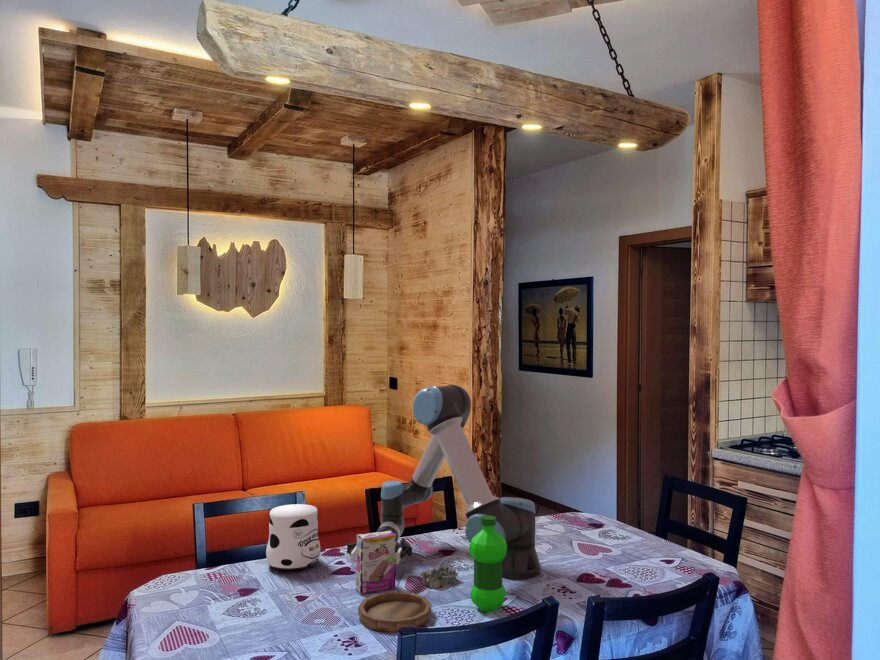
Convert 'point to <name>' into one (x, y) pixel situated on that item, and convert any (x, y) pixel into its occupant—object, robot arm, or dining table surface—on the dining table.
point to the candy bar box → (375, 562)
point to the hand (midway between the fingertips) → (374, 558)
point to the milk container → (293, 537)
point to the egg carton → (439, 576)
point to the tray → (394, 611)
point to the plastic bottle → (488, 566)
